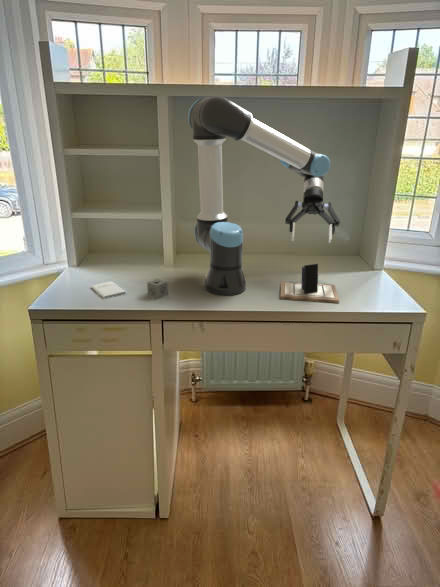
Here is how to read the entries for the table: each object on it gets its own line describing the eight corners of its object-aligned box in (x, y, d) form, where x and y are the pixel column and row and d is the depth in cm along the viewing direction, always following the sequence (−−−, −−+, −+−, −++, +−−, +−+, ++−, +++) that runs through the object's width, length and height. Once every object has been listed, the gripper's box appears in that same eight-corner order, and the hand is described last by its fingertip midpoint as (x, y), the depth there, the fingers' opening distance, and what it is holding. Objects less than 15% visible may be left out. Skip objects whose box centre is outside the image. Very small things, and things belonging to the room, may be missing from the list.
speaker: (320, 293, 148) (321, 265, 145) (304, 294, 148) (304, 265, 145) (315, 287, 155) (316, 260, 152) (299, 288, 155) (300, 261, 152)
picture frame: (280, 298, 146) (280, 295, 146) (281, 283, 160) (281, 280, 160) (338, 303, 144) (339, 299, 143) (334, 287, 158) (334, 284, 157)
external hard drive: (104, 300, 145) (91, 289, 154) (126, 295, 149) (112, 284, 158) (103, 296, 144) (90, 285, 153) (125, 291, 148) (112, 280, 158)
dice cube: (147, 295, 148) (147, 282, 146) (157, 291, 151) (157, 278, 149) (158, 299, 145) (157, 285, 143) (168, 294, 149) (167, 281, 147)
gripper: (344, 199, 165) (344, 246, 157) (280, 197, 168) (277, 243, 160) (348, 188, 158) (347, 236, 150) (281, 185, 161) (278, 233, 153)
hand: (311, 240), depth 155 cm, fingers open, 13 cm apart
